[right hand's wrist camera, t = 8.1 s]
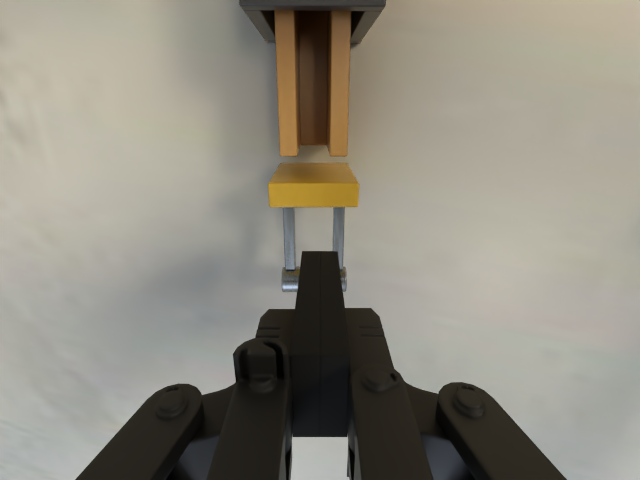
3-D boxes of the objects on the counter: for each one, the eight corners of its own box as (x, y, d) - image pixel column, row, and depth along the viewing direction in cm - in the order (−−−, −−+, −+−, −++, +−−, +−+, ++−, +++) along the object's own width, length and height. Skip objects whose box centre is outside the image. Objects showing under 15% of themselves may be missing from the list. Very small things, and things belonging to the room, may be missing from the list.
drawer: (344, 264, 25) (353, 313, 19) (284, 264, 25) (274, 314, 19) (355, -106, 17) (376, -214, 12) (269, -107, 17) (246, -216, 12)
